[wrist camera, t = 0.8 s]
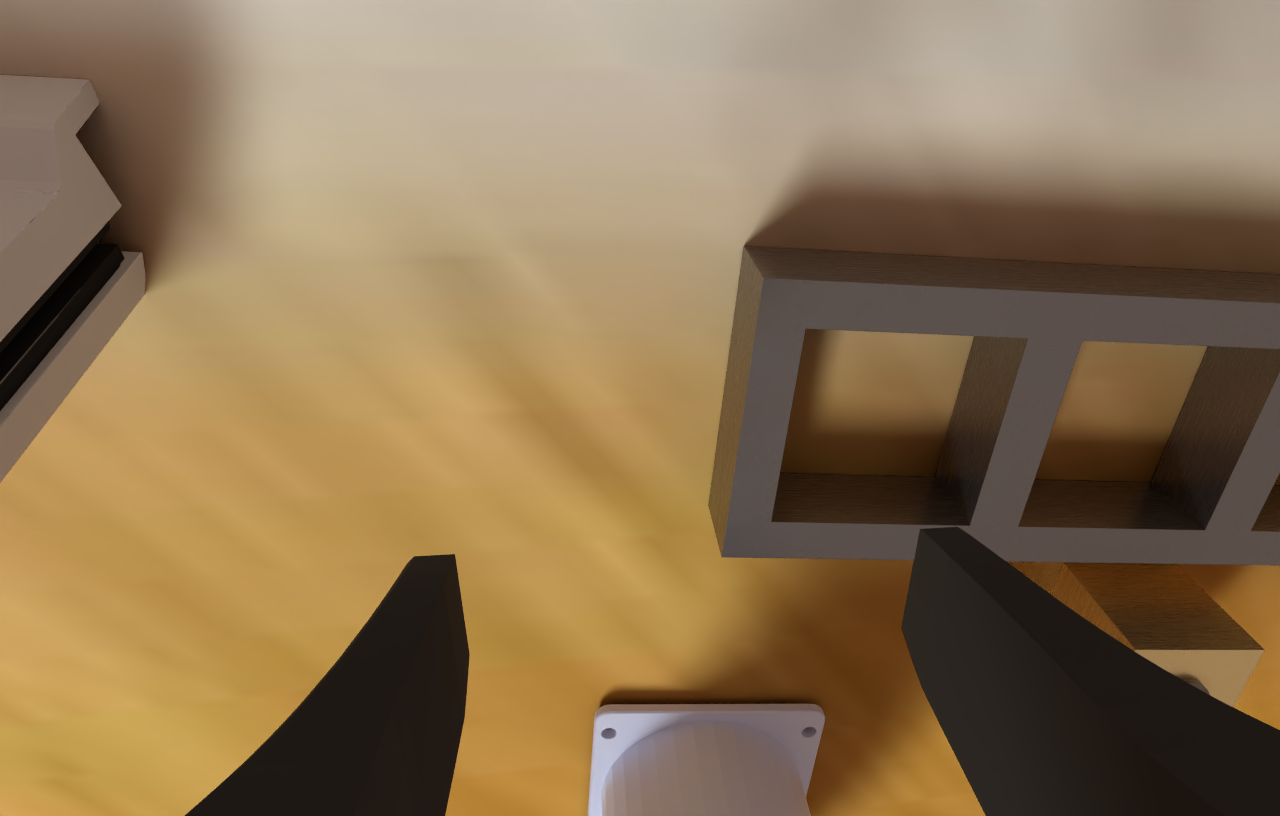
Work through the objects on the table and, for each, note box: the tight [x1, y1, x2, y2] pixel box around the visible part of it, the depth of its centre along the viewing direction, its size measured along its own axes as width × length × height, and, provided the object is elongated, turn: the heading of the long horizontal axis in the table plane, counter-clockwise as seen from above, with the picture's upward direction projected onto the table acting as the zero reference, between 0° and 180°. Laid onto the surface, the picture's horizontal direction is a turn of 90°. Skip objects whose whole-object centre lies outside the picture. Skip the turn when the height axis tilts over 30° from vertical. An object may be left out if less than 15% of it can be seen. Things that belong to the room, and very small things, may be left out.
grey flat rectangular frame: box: [708, 246, 1280, 565], centre depth 23 cm, size 8×22×2 cm, turn 86°
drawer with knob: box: [1052, 563, 1264, 707], centre depth 27 cm, size 4×4×4 cm
